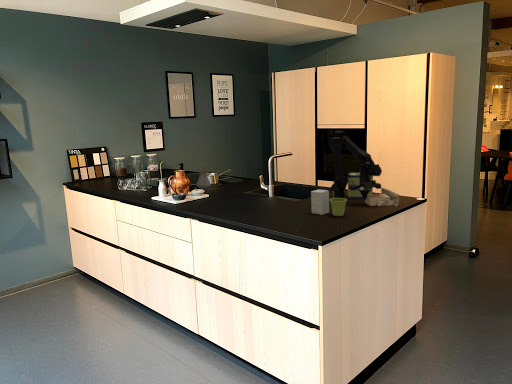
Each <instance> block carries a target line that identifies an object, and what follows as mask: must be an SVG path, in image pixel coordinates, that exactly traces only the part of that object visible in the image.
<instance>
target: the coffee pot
mask: <svg viewBox="0 0 512 384" xmlns="http://www.w3.org/2000/svg"><path fill="white" fill-rule="evenodd" d="M213 172H215V171H214V170H211V171H210V172H208V173H207V171H199V172H198V173H199V177H198V180H197V182H196V187H197V188H198V189H199V190H200V189H201V190H202V189H203V190H204V189H205V190H206V189H209V187H211V186H212V185H211V184H212V183H211V181H210V179H209V177H208V176H209V175H210V174H213Z"/></svg>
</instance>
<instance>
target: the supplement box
mask: <svg viewBox="0 0 512 384" xmlns="http://www.w3.org/2000/svg"><path fill="white" fill-rule="evenodd" d="M329 193H330V191H329V190H326V189H316V190H311V191H310V203H311V214H313V215H314V214H315V215H320V216H321V215H325V214H328V213H330V195H329Z"/></svg>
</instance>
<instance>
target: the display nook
mask: <svg viewBox="0 0 512 384" xmlns="http://www.w3.org/2000/svg"><path fill="white" fill-rule="evenodd" d="M380 190H381V191H380V194H385V195H387V196H389V197H390V201H378V202H377V206H376V207H383V206H385V207H386V206H395V207H399V203H400V201H399V199H400V193H398V192H395V191H393V190H389V189H387V188H385V187H381V189H380Z"/></svg>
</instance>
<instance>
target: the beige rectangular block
mask: <svg viewBox="0 0 512 384" xmlns="http://www.w3.org/2000/svg"><path fill="white" fill-rule="evenodd" d="M378 201H390V197H389V196H387V195H385V194H381V193H380V194H379V193H377V194H373V195H367V198H366V200H365V201H364V204H366V205H368V206H369V207H373V206H376V205H377V202H378ZM376 207H377V206H376Z"/></svg>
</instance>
